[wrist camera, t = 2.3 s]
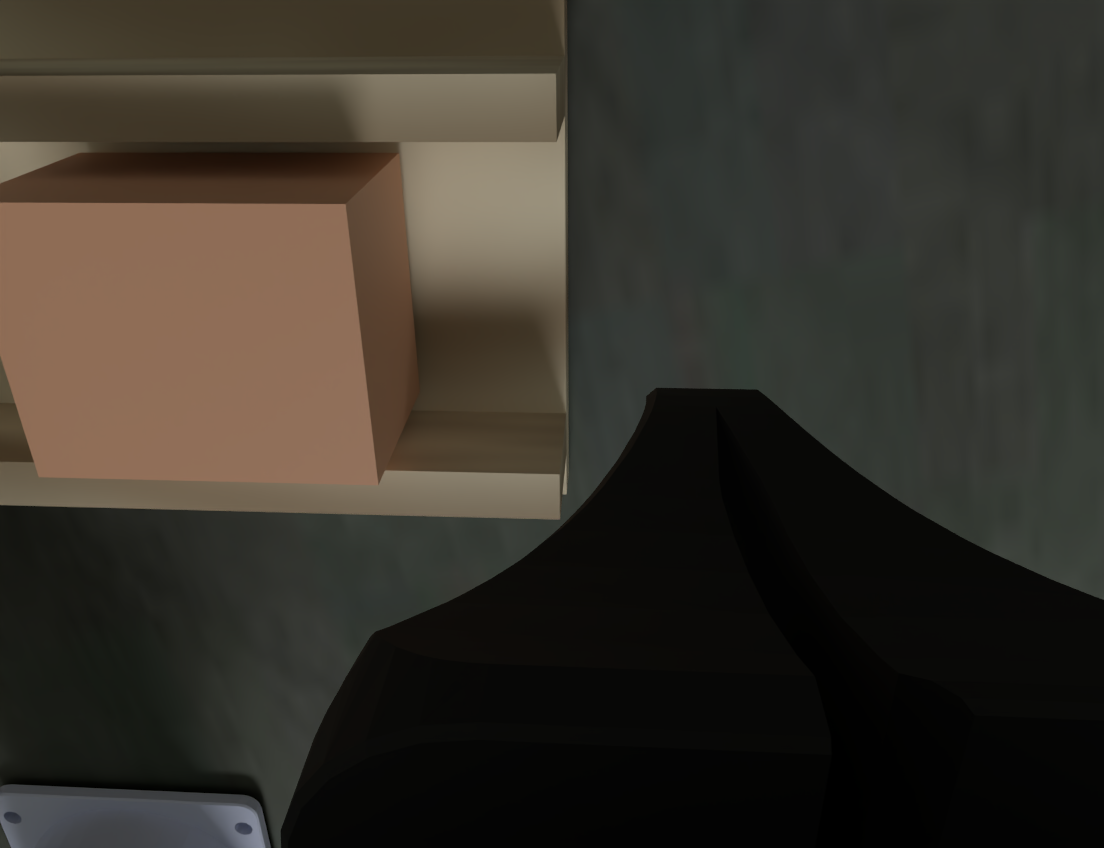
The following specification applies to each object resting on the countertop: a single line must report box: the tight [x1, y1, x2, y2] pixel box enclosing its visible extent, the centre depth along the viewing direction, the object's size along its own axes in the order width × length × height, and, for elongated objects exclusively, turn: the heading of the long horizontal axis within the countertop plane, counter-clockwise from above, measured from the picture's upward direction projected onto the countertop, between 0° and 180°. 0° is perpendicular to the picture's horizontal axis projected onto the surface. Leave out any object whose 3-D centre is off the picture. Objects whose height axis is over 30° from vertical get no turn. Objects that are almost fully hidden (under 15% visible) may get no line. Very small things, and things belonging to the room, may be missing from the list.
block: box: [0, 153, 420, 485], centre depth 16 cm, size 5×6×4 cm
